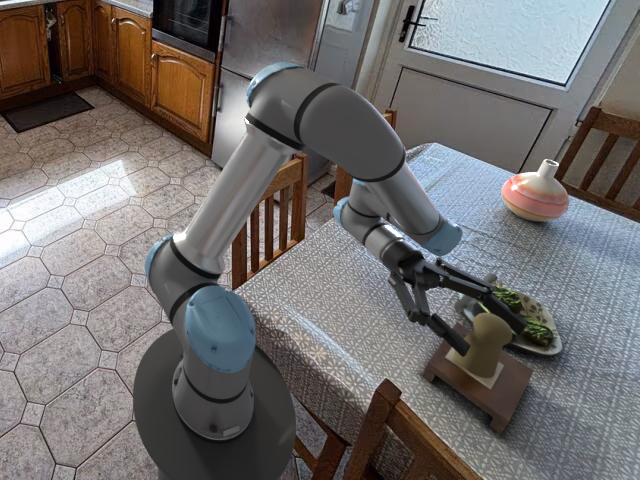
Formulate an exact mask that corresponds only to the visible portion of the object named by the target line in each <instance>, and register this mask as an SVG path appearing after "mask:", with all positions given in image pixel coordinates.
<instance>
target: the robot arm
mask: <svg viewBox="0 0 640 480" xmlns="http://www.w3.org/2000/svg"><path fill="white" fill-rule="evenodd" d="M245 95H246V103H247V106H248V108H249V110H248V111H247V114H246V115H245V116H244V120H243V121H244V125H245V129H246V131H245V133H244V134H243V136H242V138H241V139H240V141H239V143H238V144H237V146H236V147H235V149H234V151H232V153H231V155H230V157H229V159H228V160H227V162H226V163H225V165H224V167H223V168H222V170H221V172H220V173H219V175H218V177H217V178H216V180H215V181H214V183H213V184H212V186H211V188H210V189H209V191H208V193H207V194H206V195H205V198H204V199H203V201H202V202H201V204H200V206H199V207H198V210H197V211H196V212H195V214H194V216H193V217H192V219H191V221H190V222H189V224H188V226H186V229H181V230H177V231H175V233H173V234H168V235H166V236H164V237H162V239H161V241H160V240H158V241H156V242H155V243H154V244H153V246H152V247H151V248H150V249H149V251H148V253H147V255H146V257H145V261H144V273H145V277H146V278H147V281H148V284H149V287H150V288H151V291H152V293H153V294H154V295H155V297H156V299H157V300H158V302H159V304H160V306H161V308H162V310H163V312H164V314H165V316H166V318H167V319H168V321H169V323H170V324H171V326H172V329H173V328H174V330H175V332H176V334H177V336H178V338H179V340H180V342H181V344H182V346H183V349H184V353H181V354H180V356H181V357H182V358H183V359H182V361H181V362H180V363H179V365H178V367H177V369H176V371H175V373H174V376H173V381H172V400H173V405H174V408H175V411H176V413H177V415H178V417H179V419H180V420H181V422H182V423H183V425H184V426H185V427H186V428H187V429H188V430H189V431H190V432H191V433H192V434H194V435H195V436H197V437H198V438H200V439H202V440H204V441H207V442H211V443H217V444H222V443H228V442H231V441H234V440H236V439H237V438H239V437H240V436H241V435H242V434H244V432H245V431H246V430H247V428H248V427H249V425H250V422H251V419H252V415H253V410H254V395H253V390H252V386H251V383H250V380H249V372H250V367H251V363H252V358H253V354H254V350H255V345H257V339H256V322H255V319H254V316H253V312H252V311H251V309H250V307H249V306H248V304H247V303H246V302H245V300H244V299H243V298H242V297H241V296H240V295H238V293H236V292H234V291H233V290H229V291H228V290H226V287H224V286H221V285H220V283H218V281H219V279H220V278H221V276H222V274H223V273H224V271H225V269H226V262H225V259H224V256H225V255H226V253H227V252H228V250H229V248H230V247H231V246H232V244H233V242H234V240H235V239H236V238H237V236H238V235H239V233H240V231H241V230H242V228H243V226H244V225H245V224H246V222H247V220H248V219H249V217H250V216H251V214H252V213H253V211H254V210H255V208H256V206H257V205H258V204H259V202H260V200H261V199H262V197H263V196H264V194H265V193H266V191H267V189H268V188H269V186H270V185H271V183H272V182H273V180H274V178H275V177H276V176H277V174H278V173H279V171H280V170H281V168H282V166H283V165H284V164H285V162H286V160H287V158H289V156H291V155H295V154H296V155H297V154H300V153H302V152H303V151H304V149H305V148H306V147H307V148H309V149H310V150H312V151H314V152H315V153H317V154H318V155H320V156H322V157H324V158H325V159H327V160H329V161H330V162H332V163H333V164H335V165H337V166H338V167H340V168H341V169H342V170H344V171H345V173H346V174H347V175H348V176H350V177H351V179H352V183H351V188H350V193H349V195H348V196H345V197H343V198H341V199H339V200H338V201H337V204H336V205H335V206H334V207H333V210H332V215H333V218H334V219H335V221H336V222H337V223H338V224H339V225H340V226H341V228H342V229H343V230H344V231H346V232H347V233H348V234H350V235H351V236H352V237H353V238H354V239H355V240H356V241H357V242H358V243H360V244H361V246H362V247H364V248H365V249H366V250H367V252H369V253H370V254H371V255H372V256H373V257H374V258H375V259H376V260H378V261H379V262H380V263H382V265H383V266H384V267H385V268H386V269H387V270H388V272H389V276H388V278H387V283H388V284H389V285H390V286H391V288H393V290H394V293H395V294H396V296H397V298H398V300H399V303H400V304H401V306H402V309H403V311H404V313H405V315H406V317H407V320H408V321H409V322H410V323H412V324H416V323H417V325H418V324H419V326H421V327H428V328H429V329H430V330H431V331H432V332H433V333H434V335H436V337H439V339H443V341H444V340H445V341H446V342H447V343H448V344H450V345H451V346H452V347H453V348H454V349H455V350H456V351H457V352H458V353H459V354H460V355H461V356H462V357H464V356H466V354H467V352H468V350H469V348H470V347H471V345H470V344H468V343H467V342H466V341H465V340H464V339H463V338H462V337H461V336H460V335H459V334H458V333H457V332H456V331H454V330H453V327H452V326H451V325H450V324H449V323H447V322H446V321H445V320H444V319H443V318H442V317H441V316H440V315H439V314H437V313H436V312H434V313H432V314H431V310H430V307H429V301H428V298H427V293H426V292H428V291H429V290H430V289H436V288H441V289H449V290H451V291H454V292H456V293H461V294H464V295H467V296H469V297H472V298H475V299H477V300H480V301H483V302H484V303H483V306H484V307H485V308H487V309H488V310H489V311H490V312H491V313H493V314H494V315H496V316H498V317H500V318H501V319H503V320H504V321H505V322H506V323H507V324H508V325H509V326H510V328H511V329H512V330H513V331H514V332H516V333H517V334H518V335H521V334H523V332H524V330H525V329H526V327H527V325H528V324H527V323H526V322H524V321H523V320H522V319H521V318H519V317H518V316H517V315H516V314H514V313H513V312H512V311H511V310H510V309H509V308H508V306H506V305H505V304H504V303H502V302H501V301H500V300H499V299H497V298H496V297H495V296H494V295H493V292H494V290H495V286H494V285H492V284H490V283H488V282H486V281H483V280H481V279H482V278H479V277H477V276H475V275H473V274H471V273H469V272H467V271H464V270H462V269H461V268H459V267H457V266H454V265H452V264H450V263H449V262H447V260H445V259H443V258H441V257H444V256H446V255H448V254H450V253H451V252H452V251H454V250H455V249H456V248H457V246H458V245H459V244H460V242H461V240H462V238H463V229H462V227H461V226H460V225H459V224H457V223H455V222H454V221H453V220H452V219H451V218H449V217H446V216H445V215H443V214H442V213H441V212H440V211H439V210H438V209H437V207H436V205H435V204H434V203H433V201H432V200H431V198H430V196H429V195H428V193H427V191H426V190H425V189H424V187H423V185H422V183H420V181H419V179H418V178H417V176H416V175H415V173H414V172H413V170H412V168H411V167H410V166H409V164H408V163H407V161H406V160H407V152H406V148H405V145H404V144H403V141H401V138H400V137H399V135H398V134H397V132H396V131H395V130H394V129H393V127H392V126H391V124H390V123H389V122H388V121H387V119H386V118H385V117H384V116H383V115H382V114H381V112H379V110H378V109H377V108H376V107H375V106H374V105H373V104H372V103H371V102H369V101H368V100H367V99H366V97H364V96H363V95H361V94H360V93H359V92H357V91H356V90H354V89H352V88H350V87H349V86H346V85H342V84H341V83H338V82H336V81H334V80H332V79H331V78H327V77H326V76H324V75H321V74H320V73H317V72H315V71H313V70H312V69H310V68H308V67H305V66H304V65H298V64H296V63H292V62H288V61H279V62H275V63H274V64H270V65H267V66H266V67H264V68H262V69H261V70H260V71H259V72H257V74H255V76H254V77H253V78H252V80H251V81H250V83H249V84H248V87H247V89H246V94H245ZM384 220H385V221H384ZM388 223H389V224H390V225H392V226H393V227H395V228H396V229H397V230H399V232H401V233H402V234H404V235H406V236H407V237H408V238H410V239H411V240H412V241H413V242H415V243H416V244H417V245H419V246H420V247H421V248H422V249H425V250H426V251H428V252H429V253H431V255H434V256H437V258H436V260H435V261H434V262H430V261H429V260H427V259H426V258H425V257H424V254H423V252H422V251H421V250H420V249H419V248H417V247H416V246H415V245H414V244H413V243H411V242H410V241H409V240H407V239H406V238H405V237H404V236H403V235H402V234H401V233H399V232H398V231H397V230H396V229H395V228H393V227H392V226H390V225H389V224H388ZM441 277H442V278H441ZM407 285H410V288H411V292H410V291H409V289H408V287H407ZM411 293H412V295H413V296H412V295H411ZM479 293H480V294H482V295H480V294H479ZM413 297H414V299H413Z"/></svg>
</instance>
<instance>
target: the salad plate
mask: <svg viewBox="0 0 640 480" xmlns="http://www.w3.org/2000/svg"><path fill="white" fill-rule="evenodd" d="M480 279H481V280H483V281H486V282H488V283H490V284H492V285H494V286H495V290H494V292H493V295H494V296H495V297H496V298H497V299H499V300H500V301H501V302H502V303H504V304H505V305H506V306H508V308H509V309H510V310H511V311H512V312H513V313H514V314H516V315H517V316H518V317H519V318H521V319H522V320H523V321H524V322H526V323H527V324H528V325H527V327H526V329H525V330H524V332H523V334H521V335H518V334H517V333H516V332H514V331H513V330H512V329H511V331H512V339H511V341H510V342H509V343H508V344H506V345H504V346H506V347H507V348H510V349H512V350H515V351H517V352H519V353H522V354H526V355H530V356H534V357H539V358H540V357H541V358H544V359H545V358H554V357H556V356H558V355H559V354H560V353H561V352H562V351H563V348H564V347H563V342H562V340H561V336H560V334H559V331H558V329H557V326H556V322H555V320H554V318H553V316H552V314H551V312H550V311H549V310H548V309H547V308H546V307H545V305H543V304H542V303H541V302H539V301H538V300H536V299H535V298H533V297H531V296H530V295H528V294H525V293H523V292H520V291H517V290H513V289H512V288H507V287H504V286H503V285H504V284H503V283H497V280H498V276H497V274H495V273H493V272H488V273H487V274H486V275H485V276H484V277H483V278H480ZM458 293H459V292H458ZM479 294H480V293H479ZM480 295H482V294H480ZM483 303H484V302H483V301H480V300H477V299H475V298H472V297H469V296H467V295H464V294H461V293H459V299H458V300H456V302H455V303H454V305H453V309H454V311H455V313H459V315H461V316H462V317H463V318H465V319H466V321H467V322H468V323H469V324H470V325H471V327H473V328H474V325H473V322H474V318H475V317H476V316H477V315H478V314H480V313H491V312H490V311H489V310H488V309H487V308H485V307H484V306H483ZM491 314H493V313H491Z"/></svg>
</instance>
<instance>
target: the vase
mask: <svg viewBox="0 0 640 480" xmlns="http://www.w3.org/2000/svg"><path fill="white" fill-rule="evenodd" d="M559 166H560V164H559V163H558V162H556V161H554V160H552V159H543V161H542V163H541V165H540V166H539V168H538V170H537V171H532V172H531V171H528V172H521V173H518V174H515V175H512V176H511V177H509V178H508V179H507V180H506V181H505V182H503V185H502V186H501V189H500V196H501V199H502V201H503V203H504V204H505V206H506V207H507V208H508V209H509V210H510V211H511V212H512V213H513V215H516V216H518V217H519V218H521V219H524V220H527V221H530V222H551V221H555V220H558V219H560V218H562V217H563V216H564V215H565V214H566V213H567V211H568V209H569V207H570V197H569V194H568V192H567V189H566V188H565V187H564V185H562V183H560V181H558V180H557V179H556V178H555V175H556V173H557V171H558V169H559Z"/></svg>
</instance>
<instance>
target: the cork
mask: <svg viewBox="0 0 640 480" xmlns="http://www.w3.org/2000/svg"><path fill="white" fill-rule="evenodd" d="M473 325H474V327H473V328H472V329H471V332H470V333H469V334H468V335H467V336H466V337H465V338H464V340H465V341H466V342H467V343H468V344H470V345H471V347H470V348H469V350H468V352H467V354H466V356H464V357H462V356H461V355H460V354H459V353H458V352H457V351H456V350H455V356H456V358H457V360H458V362H459V363H460V364H461V365H462V366H463V367H464V368H465V369H466V370H468V371H469V372H471V373H472V374H474V375H476V376H479V377H482V378H491V377H493V376H494V375H495V372H496V368H497V365H498V361H499V358H500V354H501V351H502V350H503V347H504V346H505V345H506V344H508V343H509V342H510V341H511V339H512V331H511V328H510V326H509V325H508V324H507V323H506V322H505V321H504V320H503V319H501V318H500V317H498V316H496V315H494V314H491V313H480V314H478V315H477V316H476V317H475V318H474V322H473Z"/></svg>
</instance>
